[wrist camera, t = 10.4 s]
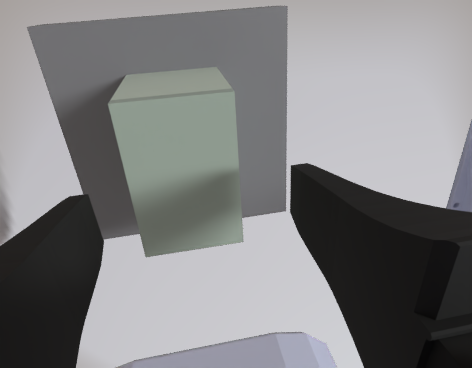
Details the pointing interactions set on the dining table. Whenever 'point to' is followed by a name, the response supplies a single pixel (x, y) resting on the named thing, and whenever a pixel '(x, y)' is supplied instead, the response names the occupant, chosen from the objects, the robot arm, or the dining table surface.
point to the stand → (160, 60)
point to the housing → (180, 158)
